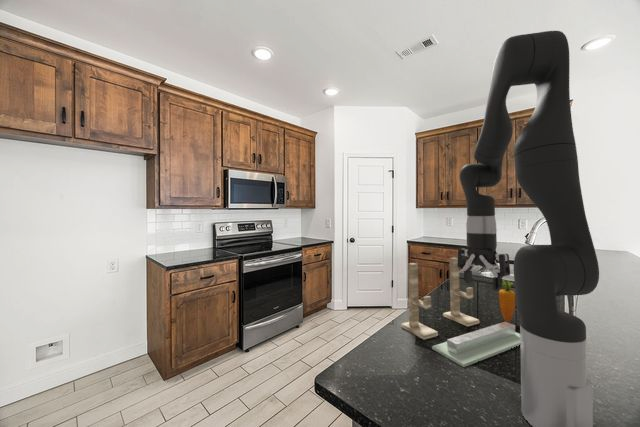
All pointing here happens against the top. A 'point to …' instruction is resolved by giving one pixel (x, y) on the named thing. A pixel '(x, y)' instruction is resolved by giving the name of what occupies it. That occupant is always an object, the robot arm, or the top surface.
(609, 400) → the top surface
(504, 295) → the carrot
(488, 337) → the rail
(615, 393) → the top surface
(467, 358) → the mat
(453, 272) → the hook stands
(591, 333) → the top surface
